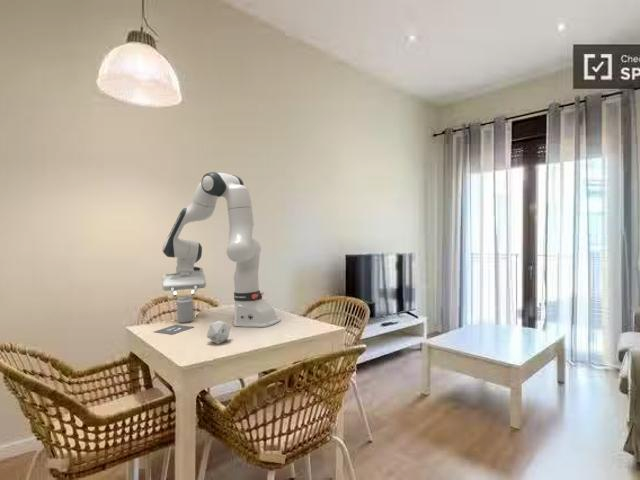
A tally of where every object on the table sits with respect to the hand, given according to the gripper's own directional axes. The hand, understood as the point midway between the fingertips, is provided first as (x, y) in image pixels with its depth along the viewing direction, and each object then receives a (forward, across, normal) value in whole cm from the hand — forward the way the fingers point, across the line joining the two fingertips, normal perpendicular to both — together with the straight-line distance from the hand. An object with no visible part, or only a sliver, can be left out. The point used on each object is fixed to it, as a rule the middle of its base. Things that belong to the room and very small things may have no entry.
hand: (183, 295), depth 173 cm
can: (+9, 0, +9) cm, 13 cm away
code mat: (+19, -3, -1) cm, 19 cm away
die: (+38, +16, -20) cm, 46 cm away
